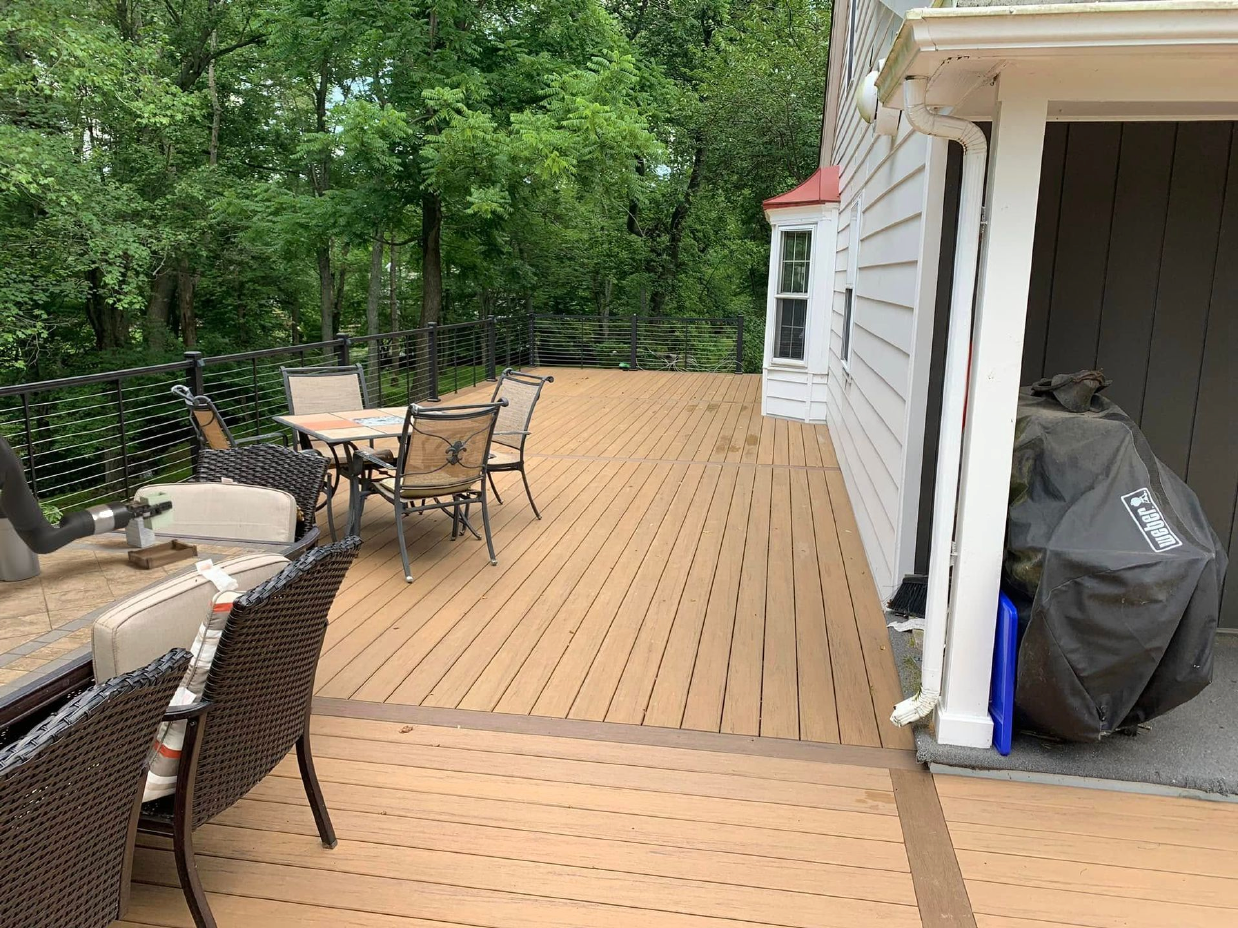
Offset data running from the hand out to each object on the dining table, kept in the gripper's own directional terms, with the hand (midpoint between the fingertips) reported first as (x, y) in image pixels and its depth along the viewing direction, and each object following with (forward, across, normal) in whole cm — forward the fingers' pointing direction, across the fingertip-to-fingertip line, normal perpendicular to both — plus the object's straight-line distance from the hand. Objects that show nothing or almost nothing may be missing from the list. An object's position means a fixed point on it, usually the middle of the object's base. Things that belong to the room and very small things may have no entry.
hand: (164, 503), depth 250 cm
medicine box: (+3, +19, +16) cm, 25 cm away
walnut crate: (-2, 0, +16) cm, 16 cm away
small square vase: (-2, 0, +6) cm, 6 cm away
